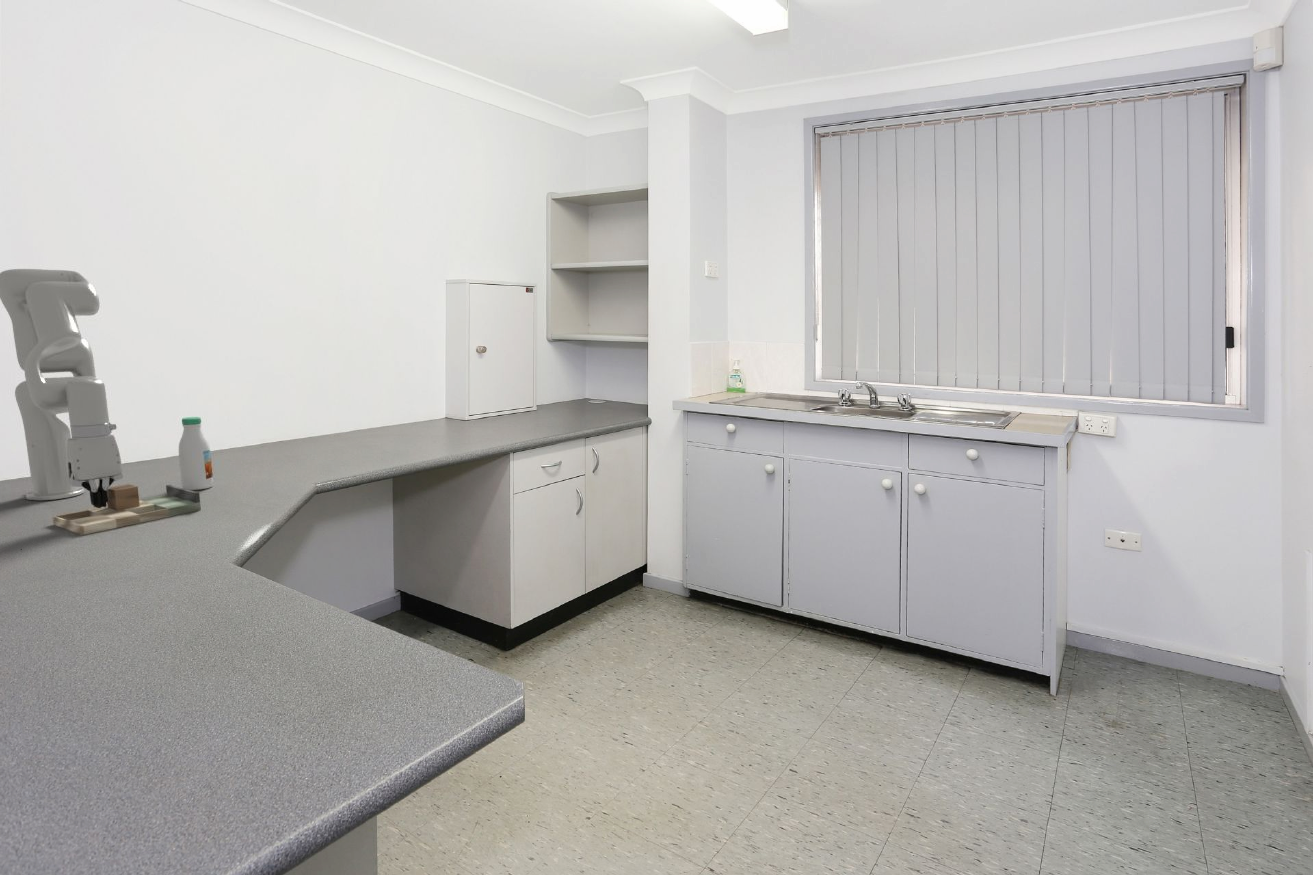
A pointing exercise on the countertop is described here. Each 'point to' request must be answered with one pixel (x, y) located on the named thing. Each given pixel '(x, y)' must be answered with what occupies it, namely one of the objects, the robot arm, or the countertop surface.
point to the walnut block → (123, 497)
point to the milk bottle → (194, 456)
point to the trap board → (131, 512)
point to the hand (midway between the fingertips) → (100, 506)
